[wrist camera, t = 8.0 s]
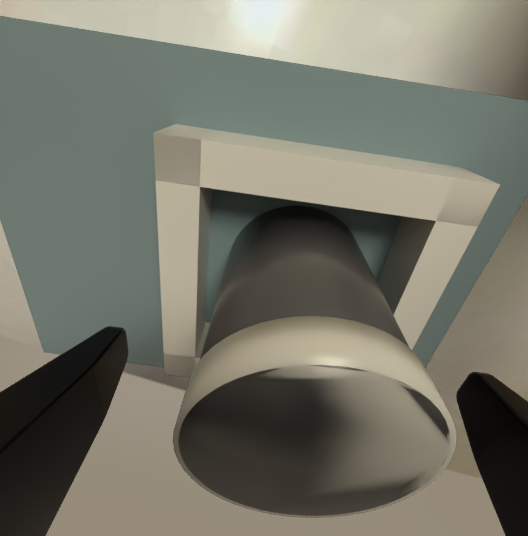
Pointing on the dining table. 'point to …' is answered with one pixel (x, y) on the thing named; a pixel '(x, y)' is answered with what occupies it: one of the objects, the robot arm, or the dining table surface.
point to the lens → (308, 381)
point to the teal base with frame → (234, 181)
